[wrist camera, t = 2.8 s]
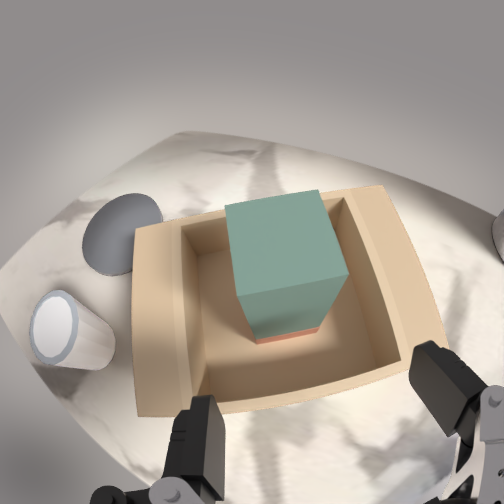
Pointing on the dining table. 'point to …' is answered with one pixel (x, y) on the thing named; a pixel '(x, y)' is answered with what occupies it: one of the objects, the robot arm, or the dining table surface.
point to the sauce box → (284, 263)
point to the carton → (284, 351)
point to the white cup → (70, 334)
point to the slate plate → (118, 233)
